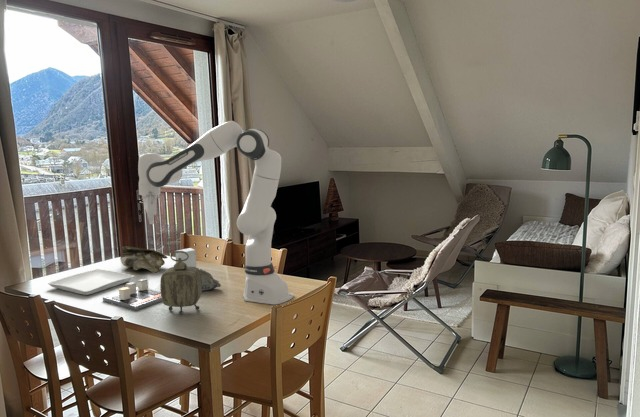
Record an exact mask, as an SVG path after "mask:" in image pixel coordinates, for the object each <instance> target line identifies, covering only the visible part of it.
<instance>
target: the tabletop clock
mask: <svg viewBox="0 0 640 417" xmlns="http://www.w3.org/2000/svg"><path fill="white" fill-rule="evenodd" d="M175 253H185V254H186V255H187V256H188V257H187V258H186V259H184V260H181V258H179V259H178V260H176V258H173V255H174V254H175ZM188 258H189V255H188V254H187V253H186V252H184V251H177V250H174V251H173V252H171V253H170V259H171V260H172V261H173V262H175V264H174V265H173V266H171V267H169V268H167V269H166V270H164V272H163V273H162V275H161V277H160V286H159V287H160V288H159V290H160V291H161V297H162V303H163V305H164V306H167V307H168V310H169V311H172V310H173V309H174V308H180V310H179V311H178V314H179V315H180V316H181V315H184V311H183V308H185V307H192V306H194V307H195V310H197V311H199V310H200V308H201V307H200V306H199V305H197V303H198V301H200V299H201V297H202V292H203V291H202V279H201V273H200V271H199V267H197V266H196V267H192V266H187V265H186V264H185V263H184V262H182V261H186V260H187V259H188ZM176 261H177V263H176ZM173 307H174V308H173Z"/></svg>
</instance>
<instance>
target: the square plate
mask: <svg viewBox="0 0 640 417" xmlns="http://www.w3.org/2000/svg"><path fill="white" fill-rule="evenodd" d="M134 278H135V275H133V274H128V273H124V272H119V271H114V270H106V269H99V268H96V269H93V270H88V271H85V272H80V273H77V274H73V275H70V276H67V277H63V278H60V279H59V278H58V279H57V280H56V279H55V280H53V281H50V282H49V283H47V285H49V286H50V287H52V288H55V289H58V290H62V291H67V292H71V293H75V294H80V295H84V296H87V295H88V296H89V295H92V294H96V293H99V292H102V291H105V290H107V289H110V288H115V287H117V286H121V285H123V284H126V283H129V282H130V281H131V280H133V279H134Z"/></svg>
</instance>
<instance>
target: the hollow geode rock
mask: <svg viewBox="0 0 640 417" xmlns="http://www.w3.org/2000/svg"><path fill="white" fill-rule="evenodd" d="M120 249H122V251H123V252H121V253H120V261H121V264H122V265H123V266H124V267H126V268H128V269H130V268H132V270H135V271H138V270H142V269H146V270H148V271H149V272H151V273H153V274H154V273H157V272H160V268H162V266H164V265H165V259H168V257H167V255H165V254H163V253H162V252H159V251H158V250H155V249H150V248H145V247H143V248H141V247H135V246H127V245H126V246H120Z"/></svg>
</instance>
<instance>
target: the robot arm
mask: <svg viewBox="0 0 640 417" xmlns="http://www.w3.org/2000/svg"><path fill="white" fill-rule="evenodd" d="M269 145H270V139H269V136H268V135H267V133H266V132H265V131H263V130H261V129H257V128H249V129H243V128H242V126H241V125H240V124H239V123H238V122H236V121H234V120H227V121H225V122H224V123H221V124H219V125H217V126H215V127H213V128H211V129H210V130H208V131H207V132H205V133H204V134H202V136H200V137H199V138H198V139H196V140H195V141H194V142H192V143H191V144H190V145H189V146H187V147H186V148H185V149H183V150H181V151H179V152H178V153H176V154H174V155H173V156H171V157H169V158H168V159H166V158H164V157H163V156H161V155H159V153H156V152H150V153H149V152H148V153H144V154H141V155H140V156H139V158H138V162H137V163H138V165H137V167H138V168H137V170H138V173H137V174H138V177H139V180H138V195H139V196H141V199H142V201H143V202H142V203H143V207H144V209H145V211H146V215H147V216H146V217H147V221H148V222H149V223H148V224H149V225H154V223H155V220H154V219H155V216H156V215H157V199H159V198H158V196H160V195H161V193H162V192H161V187H165V186H166V185H171V184H174V183H177V182H179V180H181V179H182V175H183V169H185V168H187V167H189V166H191V165H192V164H196V163H198V162H203V161H209V160H212V159H215V158H218V157H221V156H222V155H224V154H225V153H227V152H228V151H229V152H230V151H231V150H232V149H234V148H237V150H238V151H239V152H240V154H241V155H243V156H245V157H247V158H249V159H250V160H251V161H254V164H255V166H254V170H253V175H252V178H251V185H250V188H249V192H248V194H247V197H246V200H245V202H244V205H243V207H242V210H241V212H240V214H239V215H238V217H237V219H236V227H237V230H238V231H239V232H240V233H241V234H243V235H244V236H247V241H246V242H245V243H246V244H245V246H244V250H245V263H244V273H245V282H244V289H243V294H242V297H243V300H244V302H251V303H260V304H267V305H279V304H280V305H281V304H283V303H286V302H288V301H290V300H291V299H293V298H294V297H295V296H294V293H293V292H289V289H288V284H287V282H286V280H284V279H283V278H282V277H281V276H280V275H279V274H278V273H277V272H276V270H275V269H277V265H273V263H272V240H273V233H274V225H275V223H276V220H277V214H276V211H275V209H274V208H273V207H272V203H273V202H274V200H275V198H276V196H277V192H278V191H277V190H278V186H279V182H280V178H281V177H280V176H281V172H282V156H281V155H280V153H279V152H278V151H276V150H274V149H270V148H269Z"/></svg>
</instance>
